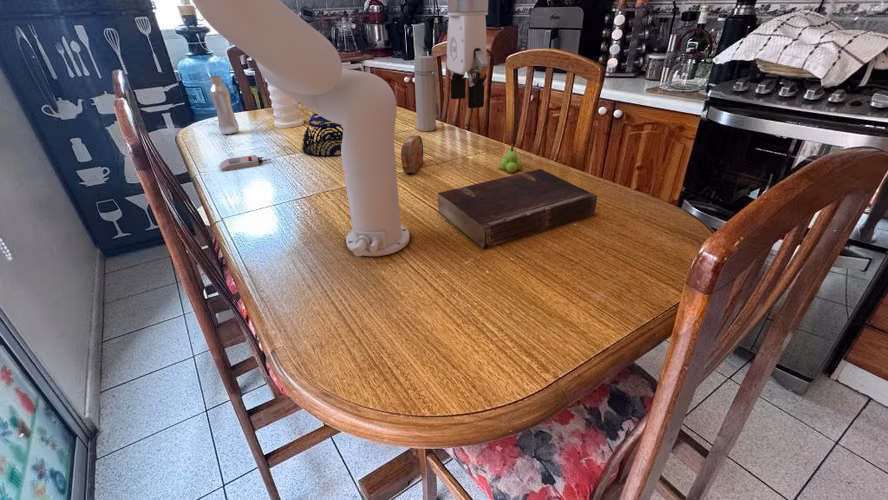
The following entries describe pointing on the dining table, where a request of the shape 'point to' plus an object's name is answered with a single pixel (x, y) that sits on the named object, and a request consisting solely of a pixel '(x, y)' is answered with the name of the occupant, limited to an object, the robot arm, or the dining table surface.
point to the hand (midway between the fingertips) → (466, 102)
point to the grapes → (511, 161)
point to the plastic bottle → (223, 106)
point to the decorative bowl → (332, 135)
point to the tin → (412, 154)
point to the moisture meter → (241, 162)
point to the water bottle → (425, 93)
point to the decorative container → (284, 108)
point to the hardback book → (515, 206)
